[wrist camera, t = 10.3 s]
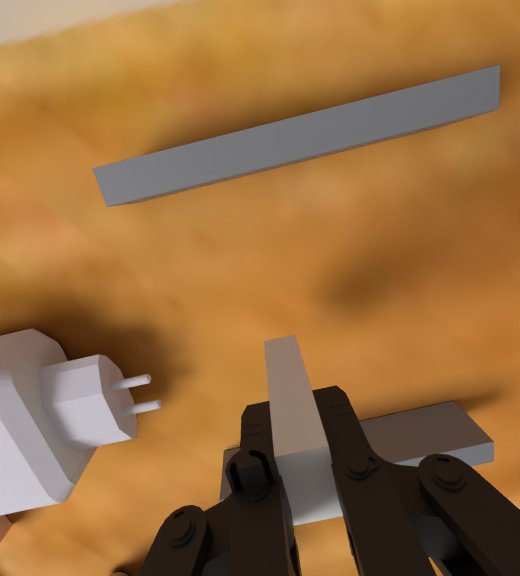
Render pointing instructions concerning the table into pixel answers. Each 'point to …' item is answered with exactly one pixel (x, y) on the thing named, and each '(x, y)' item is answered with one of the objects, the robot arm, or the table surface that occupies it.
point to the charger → (56, 417)
